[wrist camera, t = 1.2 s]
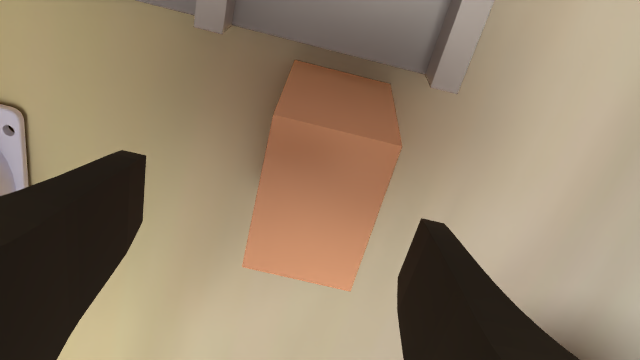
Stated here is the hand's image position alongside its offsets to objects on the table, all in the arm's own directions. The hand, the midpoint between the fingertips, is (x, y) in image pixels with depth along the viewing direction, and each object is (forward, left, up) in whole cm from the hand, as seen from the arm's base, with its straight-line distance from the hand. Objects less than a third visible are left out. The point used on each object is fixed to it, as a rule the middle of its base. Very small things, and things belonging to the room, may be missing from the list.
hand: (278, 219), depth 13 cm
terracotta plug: (-2, -1, -9) cm, 9 cm away
